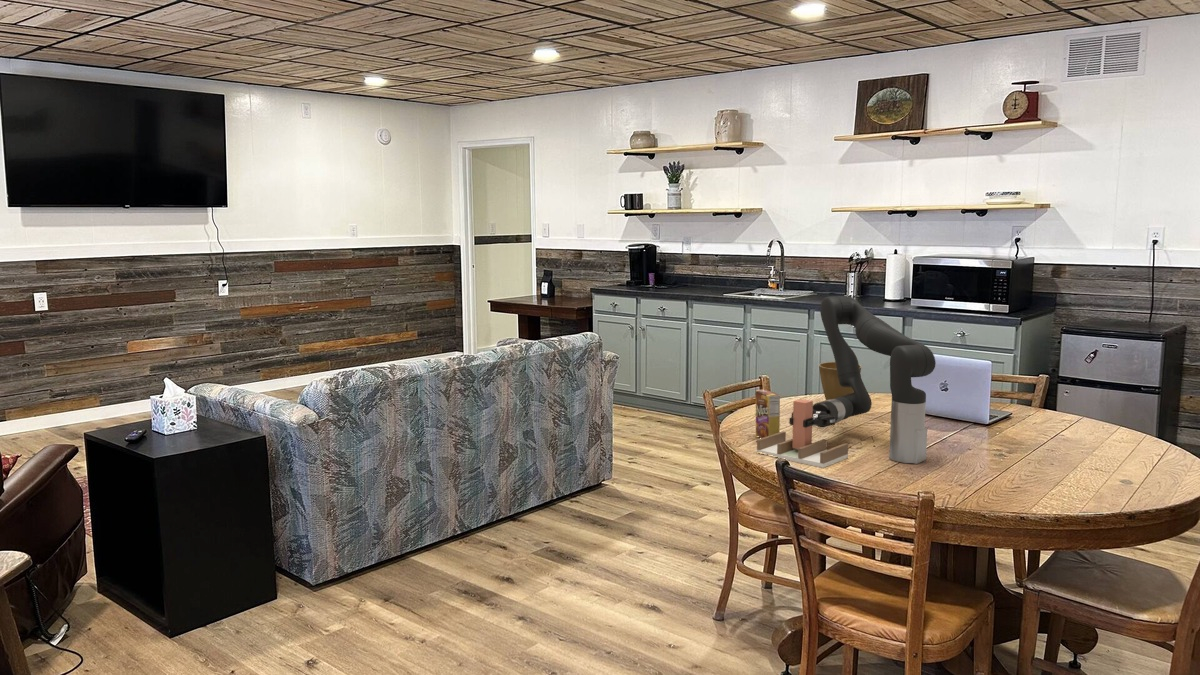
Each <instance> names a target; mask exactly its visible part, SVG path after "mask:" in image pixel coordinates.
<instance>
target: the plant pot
mask: <svg viewBox="0 0 1200 675" xmlns="http://www.w3.org/2000/svg"><path fill="white" fill-rule="evenodd" d="M818 368H819V376H820V382H821V387H822V390H823V396H824V398H825V401H826V400H831V399H835V398H838V397H841V396H844V395H848V394H851V393H854V390H853V389H852V387H842V386H841V385H840V384H839V380H838V374H837V368H836V363H835V361H826V362H822V363H821V362H820V363H819V364H818ZM859 369H860V373H861V372H862V365H861V364H859Z"/></svg>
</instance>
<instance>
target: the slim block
mask: <svg viewBox="0 0 1200 675" xmlns="http://www.w3.org/2000/svg"><path fill="white" fill-rule="evenodd" d="M813 405H814V401H813V400H809V399H802V398H800V399H797V400H794V401H793V407H792V412H793V425H792V439H793V443H792V448H795V449H798V448H800V447H803V446H806V445H809V444H811V443H813V440H812V439H813V426H809V427H806V428H805V427H803V420H806V419H809V418H812V413H813Z"/></svg>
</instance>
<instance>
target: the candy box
mask: <svg viewBox="0 0 1200 675" xmlns="http://www.w3.org/2000/svg"><path fill="white" fill-rule="evenodd" d="M780 403H781V394H778V393H776V392H773V391H771V390H768V389H767V388H765V389H757V390H755V437H756V436H759V437H760V438H764V437H767V436H770V435H773V434H776V433H779V432H780V430H781V429H780V424H781V423H780V422H781V420H780V417H781V415H780V414H781V412H780V411H781V404H780ZM760 438H759V439H760Z"/></svg>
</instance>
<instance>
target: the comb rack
mask: <svg viewBox="0 0 1200 675" xmlns="http://www.w3.org/2000/svg"><path fill="white" fill-rule="evenodd" d="M786 432H787V431H784V430H783V431H779V433H776V434H773V435H770V436H767V437H764V438H761V439H760V438H758V439H756V453H757V452H762V453H766V454H770V455H773V456H777V457H778V458H777V459H780V458H785V459H787V460H786V461H789V460H790V462H794V463H799V464H802V465H803V464H804V465H809V466H813V467H818V468H821V469H824V468H827V467H828V466H831V465H833V464H837V463H838V462H841V461H843V460H846V459H848V458H849V443H842V444H840V445H837V446H834V447H831V448H829V449H827V446H828V445H827V443H828V442H827V439H824V438H822V439H820V440H817V441H814V442H812V443H811V444H809V445H806V446H803V447H800V448H798V449H795V448H792V443H793V438H791V439H788V440H786V435H787V434H786Z"/></svg>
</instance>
